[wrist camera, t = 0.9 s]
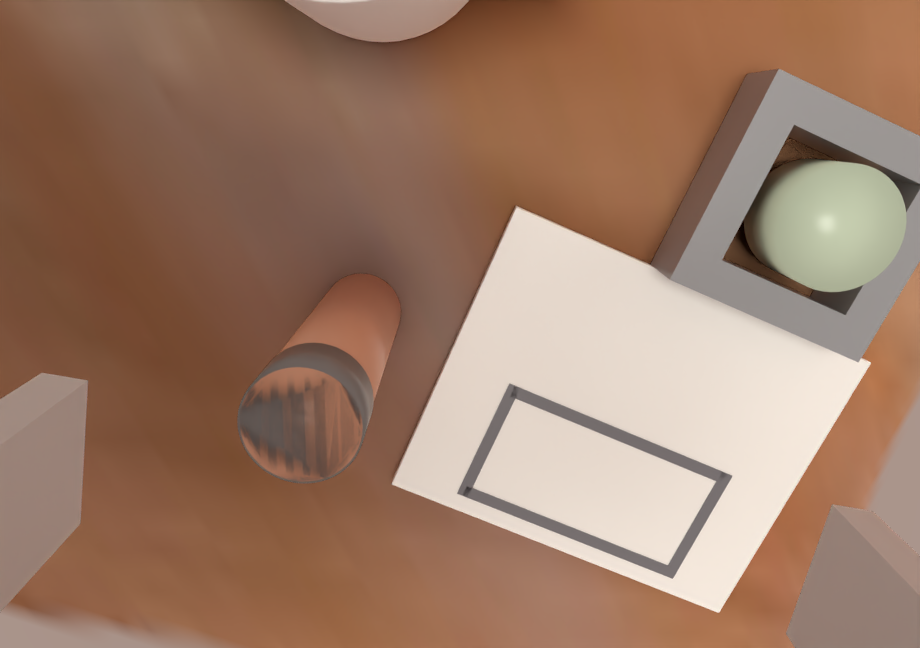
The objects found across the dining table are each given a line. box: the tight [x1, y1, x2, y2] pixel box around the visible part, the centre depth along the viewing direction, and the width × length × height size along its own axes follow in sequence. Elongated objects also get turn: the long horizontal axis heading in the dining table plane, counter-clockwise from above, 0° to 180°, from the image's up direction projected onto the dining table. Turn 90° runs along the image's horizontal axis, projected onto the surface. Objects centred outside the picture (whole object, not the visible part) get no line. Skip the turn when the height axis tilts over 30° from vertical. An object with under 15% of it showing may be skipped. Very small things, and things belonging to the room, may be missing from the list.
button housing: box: [650, 69, 920, 362], centre depth 28 cm, size 8×8×3 cm
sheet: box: [392, 206, 871, 613], centre depth 32 cm, size 16×13×1 cm
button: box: [744, 158, 907, 292], centre depth 27 cm, size 4×4×3 cm
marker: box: [238, 274, 401, 483], centre depth 25 cm, size 3×3×12 cm
